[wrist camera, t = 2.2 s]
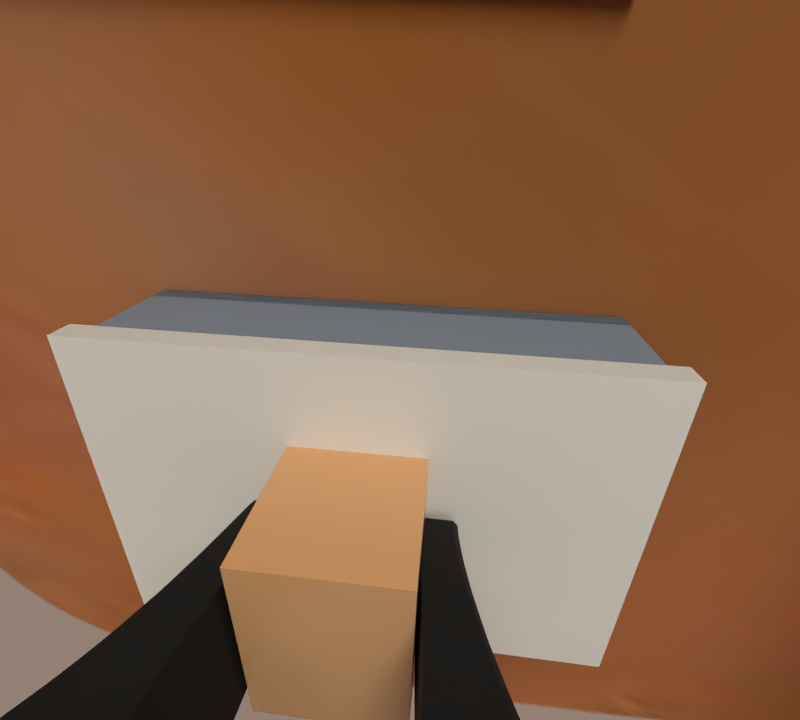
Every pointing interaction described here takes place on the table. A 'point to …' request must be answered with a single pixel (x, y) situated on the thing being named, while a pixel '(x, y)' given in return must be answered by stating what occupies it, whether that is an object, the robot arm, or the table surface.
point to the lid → (377, 492)
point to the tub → (391, 325)
